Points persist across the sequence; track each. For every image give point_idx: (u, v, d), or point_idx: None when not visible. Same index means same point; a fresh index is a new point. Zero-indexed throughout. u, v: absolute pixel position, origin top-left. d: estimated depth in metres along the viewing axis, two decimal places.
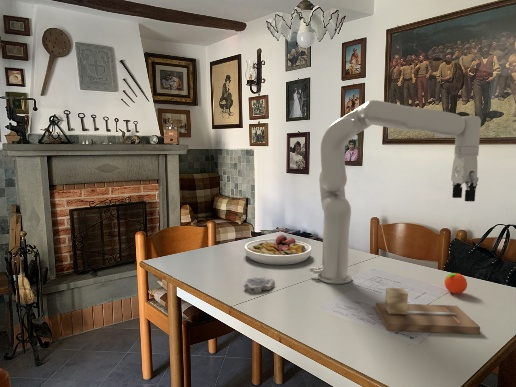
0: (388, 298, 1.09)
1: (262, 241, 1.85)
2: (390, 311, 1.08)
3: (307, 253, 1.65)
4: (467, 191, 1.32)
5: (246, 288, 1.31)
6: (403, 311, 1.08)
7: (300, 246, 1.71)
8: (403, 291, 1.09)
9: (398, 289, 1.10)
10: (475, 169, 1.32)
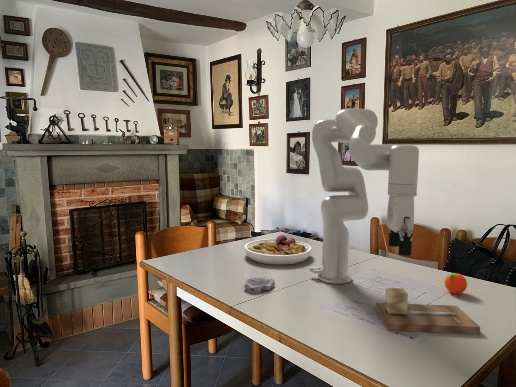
0: (388, 298, 1.09)
1: (262, 241, 1.85)
2: (390, 311, 1.08)
3: (307, 253, 1.65)
4: (401, 242, 1.02)
5: (246, 288, 1.31)
6: (403, 311, 1.08)
7: (300, 246, 1.71)
8: (403, 291, 1.09)
9: (398, 289, 1.10)
10: (411, 214, 1.02)
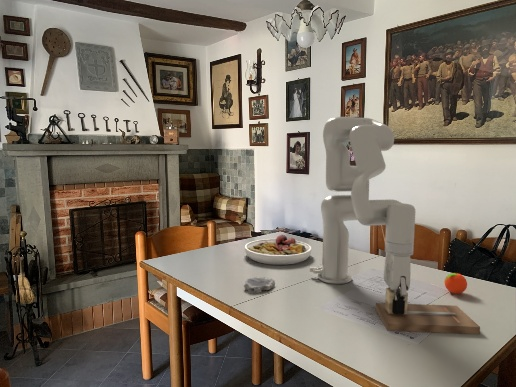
0: (388, 298, 1.09)
1: (262, 241, 1.85)
2: (390, 311, 1.08)
3: (307, 253, 1.65)
4: (395, 301, 1.07)
5: (246, 288, 1.31)
6: None
7: (300, 246, 1.71)
8: None
9: None
10: (407, 274, 1.04)
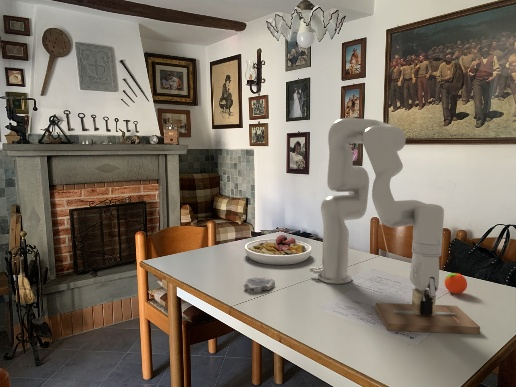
0: (415, 299, 1.08)
1: (262, 241, 1.85)
2: (418, 312, 1.07)
3: (307, 253, 1.65)
4: (423, 302, 1.06)
5: (246, 288, 1.31)
6: None
7: (300, 246, 1.71)
8: None
9: None
10: (436, 275, 1.03)
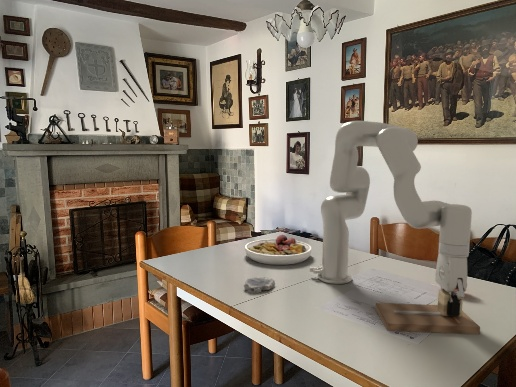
0: (442, 300, 1.07)
1: (262, 241, 1.85)
2: (444, 313, 1.07)
3: (307, 253, 1.65)
4: (450, 303, 1.06)
5: (246, 288, 1.32)
6: None
7: (300, 246, 1.71)
8: None
9: None
10: (464, 275, 1.02)
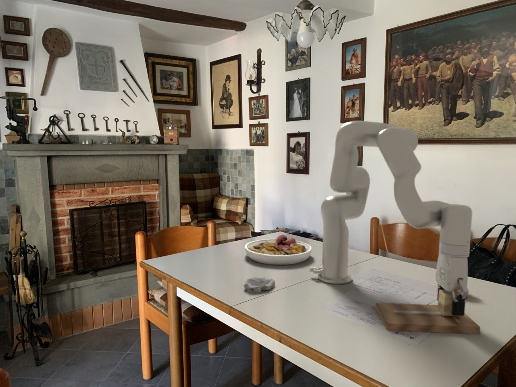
0: (443, 300, 1.07)
1: (262, 241, 1.85)
2: (445, 313, 1.07)
3: (307, 253, 1.65)
4: (454, 303, 1.03)
5: (246, 288, 1.32)
6: None
7: (300, 246, 1.71)
8: (458, 293, 1.08)
9: None
10: (465, 275, 1.02)
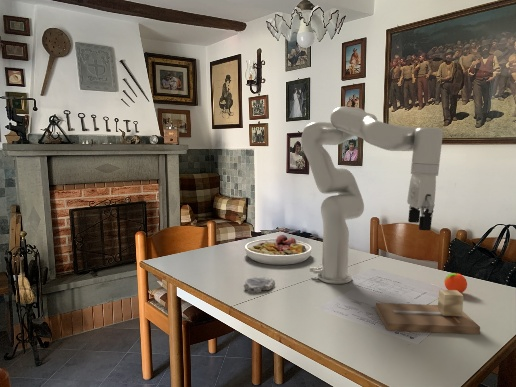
0: (443, 300, 1.07)
1: (262, 241, 1.85)
2: (445, 313, 1.07)
3: (307, 253, 1.65)
4: (422, 218, 1.10)
5: (246, 288, 1.32)
6: (458, 313, 1.07)
7: (300, 246, 1.71)
8: (458, 293, 1.08)
9: (452, 291, 1.09)
10: (432, 192, 1.09)
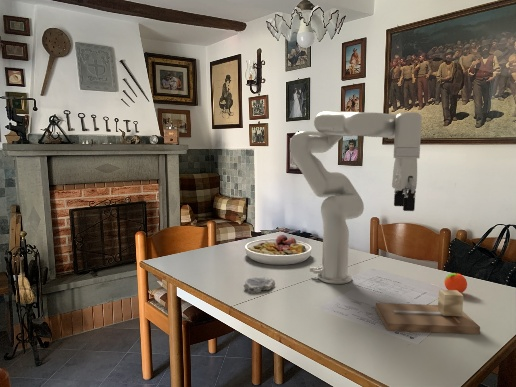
0: (443, 300, 1.07)
1: (262, 241, 1.85)
2: (445, 313, 1.07)
3: (307, 253, 1.65)
4: (405, 199, 1.15)
5: (246, 288, 1.32)
6: (458, 313, 1.07)
7: (300, 246, 1.71)
8: (458, 293, 1.08)
9: (452, 291, 1.09)
10: (414, 174, 1.14)
